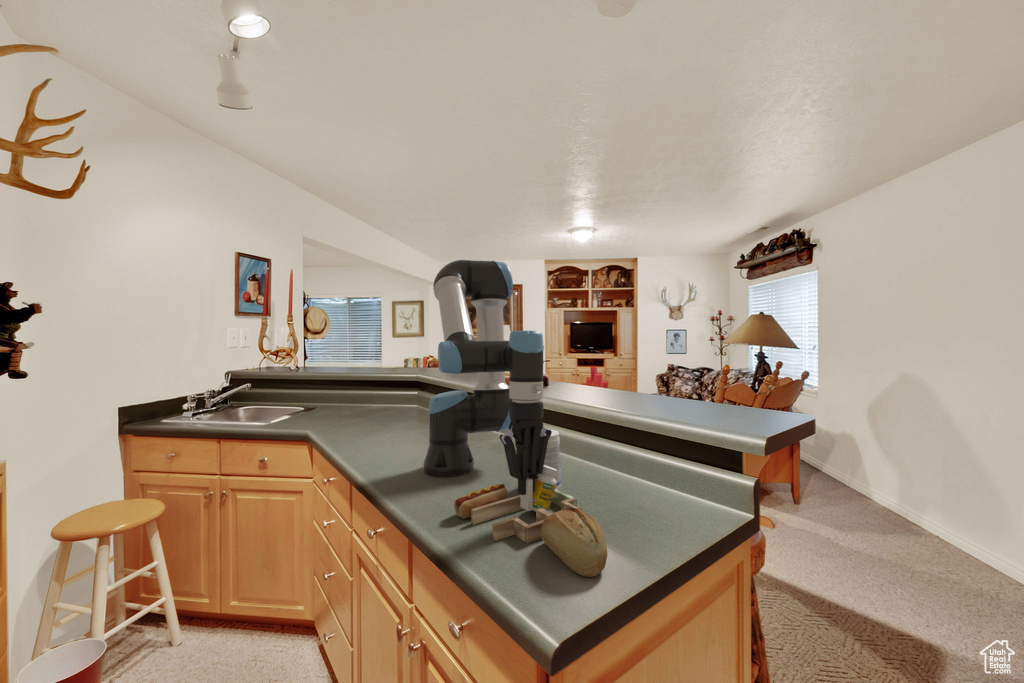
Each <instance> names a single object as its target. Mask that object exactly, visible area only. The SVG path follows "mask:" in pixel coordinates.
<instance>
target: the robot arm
mask: <svg viewBox="0 0 1024 683" xmlns="http://www.w3.org/2000/svg"><path fill="white" fill-rule="evenodd" d="M513 282H514V281H513V275H512V271H511V268H510V267H509V265H508V264H507V263H505V262H503V261H495V260H467V259H458V260H453V261H451V262H448V263H447V264H445V265H444V266H443V267H441V268H440V270H439V272H438V273H436V275H435V278H434V281H433V289H432V290H433V294H434V296H435V298H436V300H437V301H438V306H439V312H440V320H441V326H442V327H441V328H442V333H443V340H444V341H440V342H439V343H438V344H437V345H438V348H437V363H438V365H437V366H438V369H439V372H440V373H443V374H454V375H455V374H456V375H458V374H470V373H472V374H473V373H477V385H475V386H474V387H473V394H469V393H468V392H467V390H464V389H463V390H450V391H446V392H441V393H438V394H435V395H433V396H431V398H430V399H429V402H428V414H429V415H428V417H429V418H428V423H429V424H428V427H429V428H428V431H429V432H428V436H429V438H428V440H429V442H428V443H429V444H428V448H427V451H426V453H425V454H426V455H425V458H424V462H423V473H424V474H427V475H428V476H431V477H441V478H446V477H448V478H449V477H450V478H451V477H457V476H462V474H463V475H466V474H468V473H470V472H472V471H473V470H474V467H475V461H474V456H473V455H472V451H471V448H470V445H469V442H468V441H469V440H468V437H469V434H476V433H477V434H478V433H490V432H491V433H492V432H496V433H499V432H503V431H507V432H505V433H504V434H503V433H501V434H500V435H499V440H500V441H501V443H502V444H503V448H504V454H505V458H506V462H507V468H508V472H509V475H510V477H512V478H514V479H516V480H517V492H518V494H519V495H520V507H522V508H523V509H522V510H525V511H527V512H530V511H533V492H534V491H535V479H538V476H537V475H538V474H541V473H542V471H543V466H544V461H545V455H546V450H547V444H548V440H549V438H550V436H551V433H552V431H551V430H552V429H550V430H548V428H546V427H545V426H544V423H543V421H542V419H543V417H544V402H543V401H542V399H544V350H545V345H544V337H543V336H544V335H543V333H542V332H540V331H539V330H514V331H511V332H510V333H509V339H508V340H505V338H504V336H505V335H504V334H505V333H504V307H505V306H506V305H507V304H508V299H510V298H511V297H512V296H513V288H514V284H513ZM466 298H470V300H471V301H470V304H471V305H472V306H473V307H474V308H475V310H476V312H475V313H476V314H475V315H476V316H475V317H476V338H475V335H474V329H473V327H472V322H471V317H470V312H469V309H468V305H467V301H466ZM506 372H509V383H508V384H509V385H508V384H507V383H506ZM465 473H466V474H465Z"/></svg>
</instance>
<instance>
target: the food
mask: <svg viewBox="0 0 1024 683" xmlns="http://www.w3.org/2000/svg"><path fill="white" fill-rule="evenodd" d="M507 496H508V489H507V488H506V486H505V484H503V483H501V484H500V483H497V484H495V485H489V486H488V487H486V488H480V489H479V490H478V491H477V490H476V491H471V492H468V493H467V494H465V495H462V496H459V497H457V498H455V499H454V502H453V509H454V512H455V513H456V514H455V515H456V516H457V517H459V518H461V519H463V520H464V519H469V518H471V509H473V508H477V507H480V506H484V505H487V504H490V503H494V502H497V501H501V500H504V499H508V497H507Z"/></svg>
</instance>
